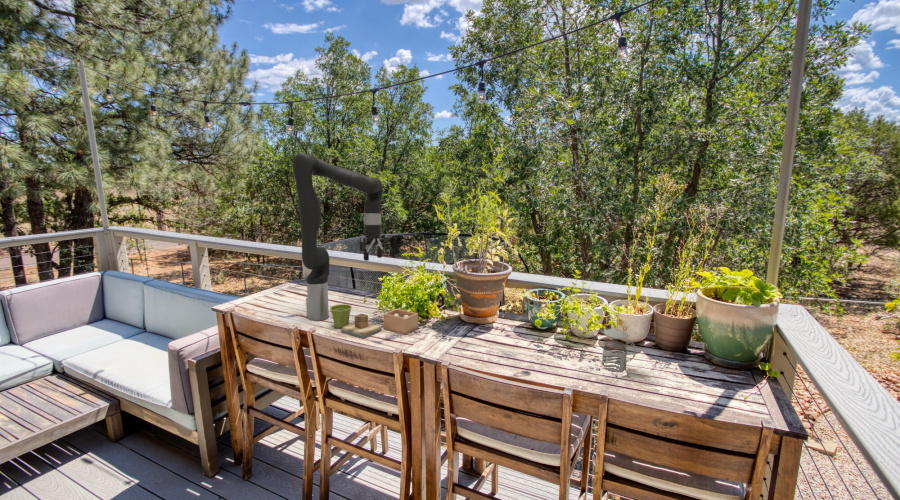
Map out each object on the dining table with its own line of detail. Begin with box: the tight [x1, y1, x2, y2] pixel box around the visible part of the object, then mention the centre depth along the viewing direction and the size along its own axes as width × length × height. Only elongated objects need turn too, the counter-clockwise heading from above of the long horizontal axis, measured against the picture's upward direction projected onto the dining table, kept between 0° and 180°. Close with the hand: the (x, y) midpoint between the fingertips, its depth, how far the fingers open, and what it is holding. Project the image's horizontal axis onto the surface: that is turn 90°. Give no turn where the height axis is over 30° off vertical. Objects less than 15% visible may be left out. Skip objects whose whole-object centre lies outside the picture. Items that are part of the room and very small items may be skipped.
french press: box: [601, 301, 637, 372], centre depth 144 cm, size 10×12×25 cm
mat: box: [340, 328, 382, 339], centre depth 180 cm, size 13×11×1 cm
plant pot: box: [329, 303, 353, 329], centre depth 185 cm, size 9×9×9 cm
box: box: [382, 308, 419, 336], centre depth 183 cm, size 12×9×7 cm
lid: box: [341, 313, 382, 336], centre depth 179 cm, size 13×10×6 cm
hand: (373, 259), depth 188 cm, fingers open, 8 cm apart
